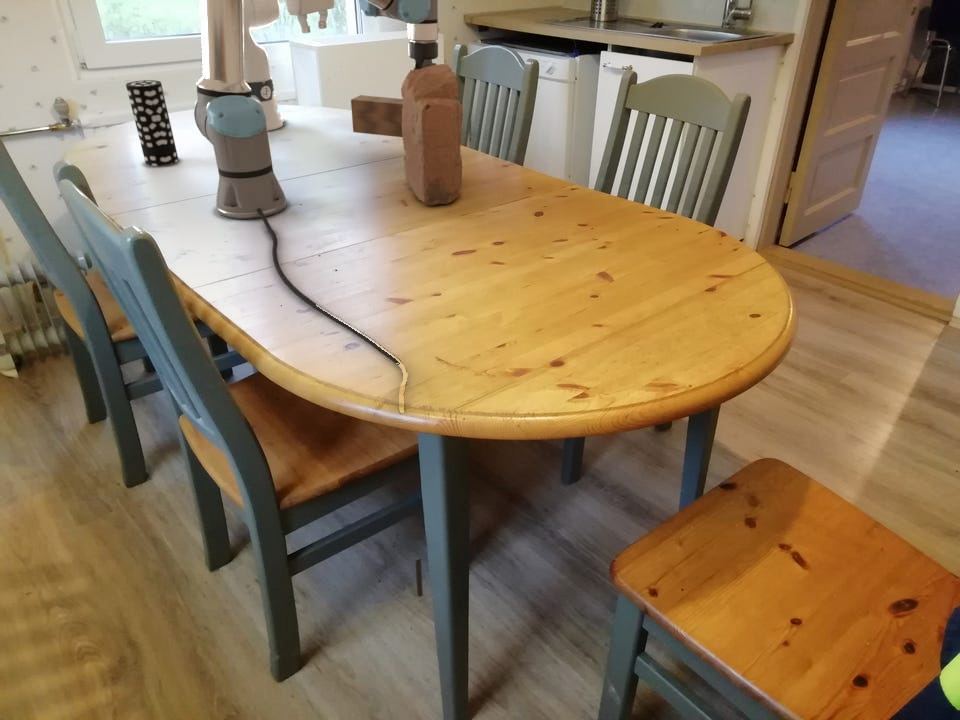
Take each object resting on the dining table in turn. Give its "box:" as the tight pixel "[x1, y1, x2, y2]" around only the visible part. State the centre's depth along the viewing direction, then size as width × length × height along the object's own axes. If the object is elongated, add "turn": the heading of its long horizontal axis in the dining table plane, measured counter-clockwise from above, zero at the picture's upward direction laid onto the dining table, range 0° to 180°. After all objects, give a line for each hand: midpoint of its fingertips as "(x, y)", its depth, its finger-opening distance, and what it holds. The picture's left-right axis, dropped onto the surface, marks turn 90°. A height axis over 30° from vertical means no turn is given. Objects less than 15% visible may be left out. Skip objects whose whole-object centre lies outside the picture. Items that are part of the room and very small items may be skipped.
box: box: [350, 94, 403, 138], centre depth 185 cm, size 24×6×8 cm, turn 74°
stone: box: [400, 63, 464, 206], centre depth 161 cm, size 22×11×28 cm, turn 18°
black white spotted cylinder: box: [125, 79, 179, 167], centre depth 181 cm, size 8×8×20 cm
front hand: (424, 134), depth 186 cm, fingers closed on box, 6 cm apart
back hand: (314, 30), depth 187 cm, fingers open, 8 cm apart
